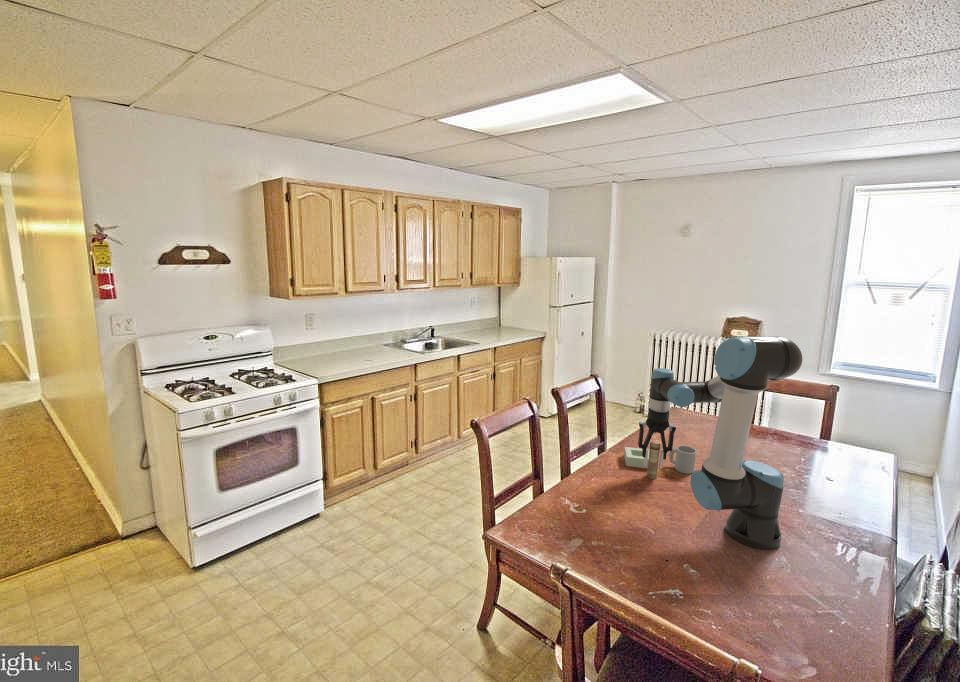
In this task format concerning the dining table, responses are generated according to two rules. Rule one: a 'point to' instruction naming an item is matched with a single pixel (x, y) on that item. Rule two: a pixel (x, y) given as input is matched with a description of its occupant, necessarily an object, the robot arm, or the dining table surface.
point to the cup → (683, 459)
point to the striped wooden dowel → (653, 460)
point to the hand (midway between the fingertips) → (652, 465)
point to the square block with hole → (634, 457)
